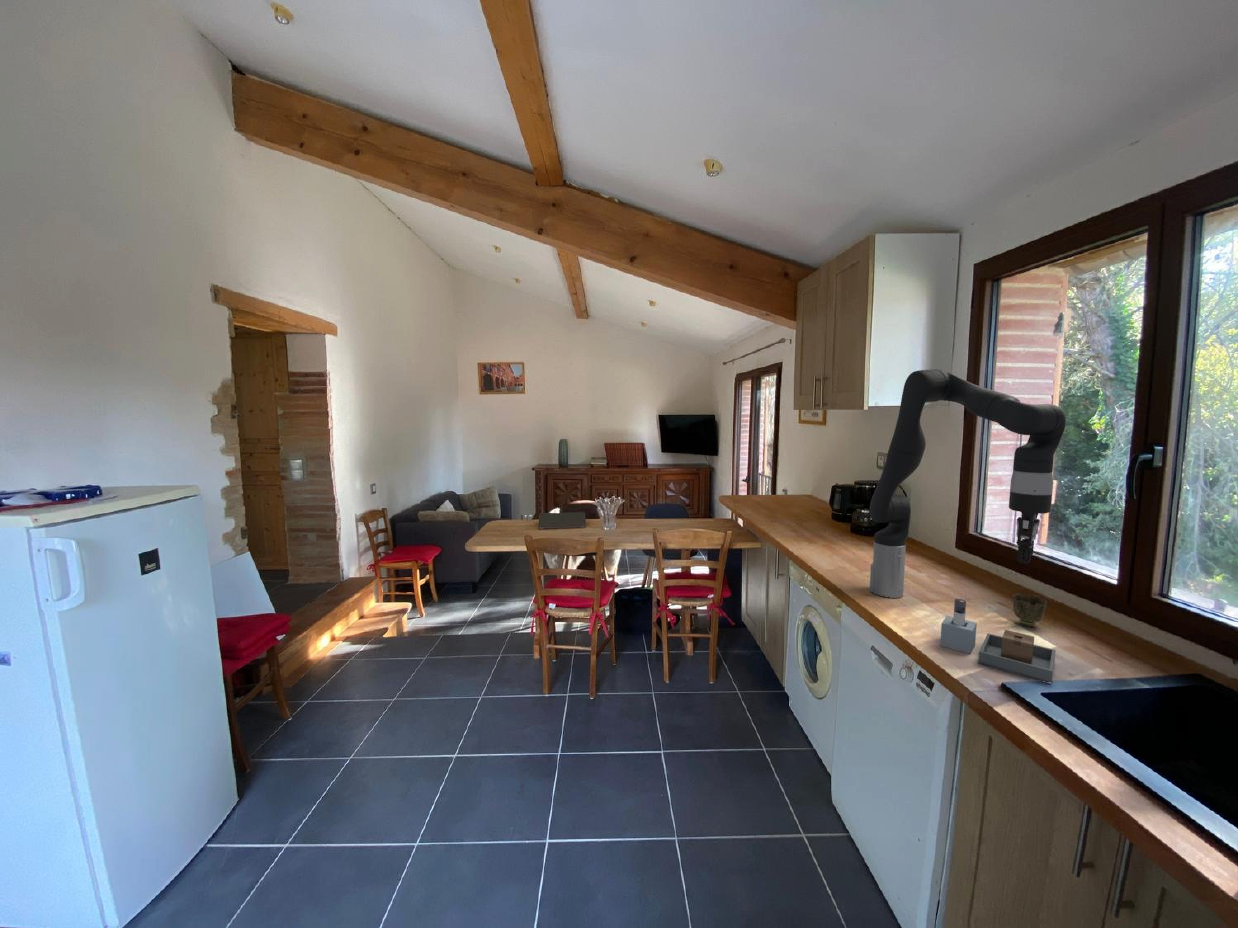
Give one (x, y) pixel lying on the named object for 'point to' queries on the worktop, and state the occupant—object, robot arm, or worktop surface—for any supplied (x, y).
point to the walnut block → (1017, 646)
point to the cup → (1029, 609)
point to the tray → (1037, 670)
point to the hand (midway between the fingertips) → (1025, 558)
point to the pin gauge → (959, 612)
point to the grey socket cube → (958, 635)
